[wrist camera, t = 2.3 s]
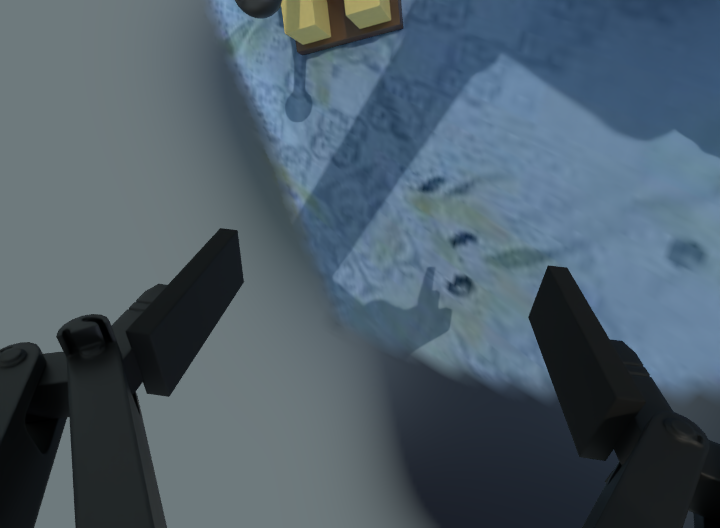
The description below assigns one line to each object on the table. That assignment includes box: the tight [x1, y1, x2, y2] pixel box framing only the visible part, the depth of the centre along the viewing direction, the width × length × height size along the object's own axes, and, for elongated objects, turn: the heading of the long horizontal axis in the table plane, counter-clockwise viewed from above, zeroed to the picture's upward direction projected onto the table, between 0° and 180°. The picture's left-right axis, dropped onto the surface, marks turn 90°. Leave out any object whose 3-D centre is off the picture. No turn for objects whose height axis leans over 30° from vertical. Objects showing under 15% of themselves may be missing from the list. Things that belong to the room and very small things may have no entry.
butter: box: [281, 0, 391, 45], centre depth 37 cm, size 4×9×4 cm, turn 98°
